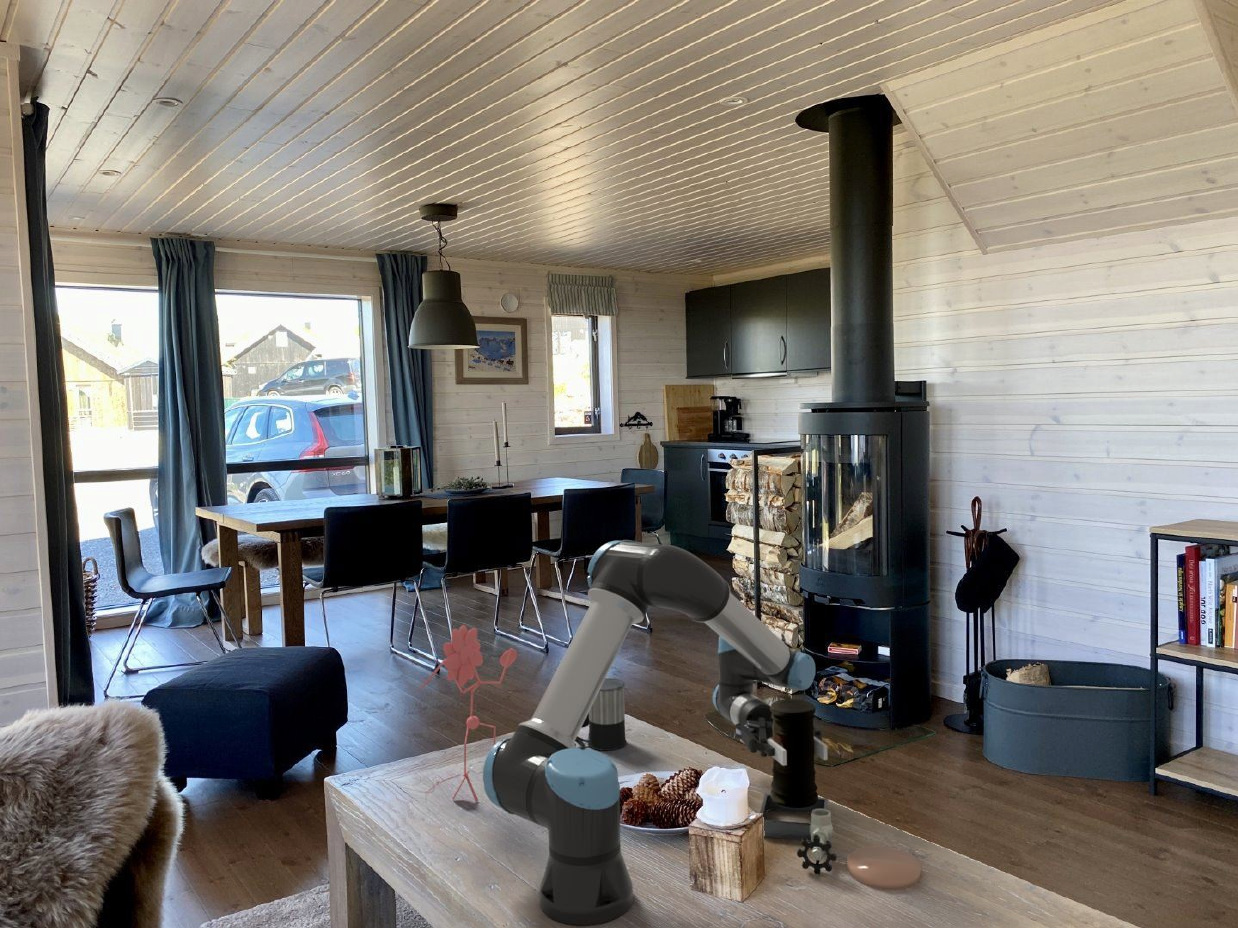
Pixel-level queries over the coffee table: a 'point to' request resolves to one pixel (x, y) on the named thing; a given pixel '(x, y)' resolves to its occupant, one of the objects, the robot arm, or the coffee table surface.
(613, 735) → the milk frother
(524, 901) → the coffee table surface
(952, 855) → the coffee table surface
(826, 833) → the valve
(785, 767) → the container
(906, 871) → the peach soap bar
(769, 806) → the collar
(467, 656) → the figurine
